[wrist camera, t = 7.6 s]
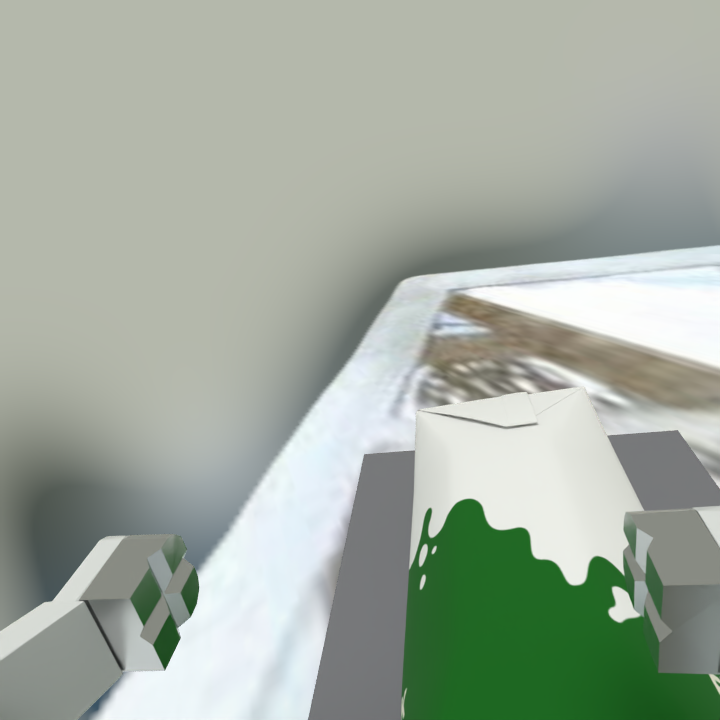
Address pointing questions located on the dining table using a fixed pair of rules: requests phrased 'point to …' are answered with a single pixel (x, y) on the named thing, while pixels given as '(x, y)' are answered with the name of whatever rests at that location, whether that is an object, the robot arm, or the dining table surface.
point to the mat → (392, 556)
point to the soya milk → (528, 572)
